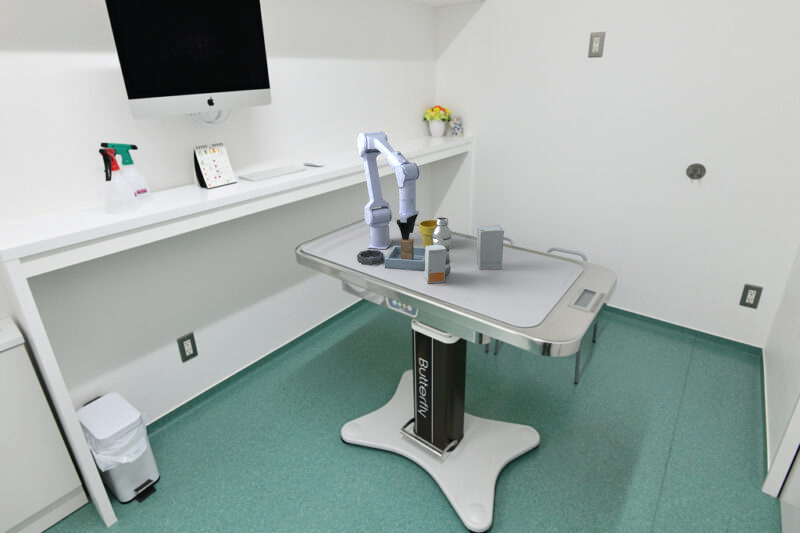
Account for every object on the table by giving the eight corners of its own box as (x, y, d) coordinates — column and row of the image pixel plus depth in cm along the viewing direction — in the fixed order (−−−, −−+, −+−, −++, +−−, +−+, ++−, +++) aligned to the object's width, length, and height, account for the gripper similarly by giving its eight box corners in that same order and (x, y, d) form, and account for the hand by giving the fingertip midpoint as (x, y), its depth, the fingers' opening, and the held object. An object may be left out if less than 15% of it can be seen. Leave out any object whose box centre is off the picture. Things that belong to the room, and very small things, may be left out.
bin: (393, 254, 174) (393, 245, 172) (429, 256, 171) (430, 247, 169) (384, 268, 161) (384, 258, 160) (423, 271, 158) (423, 261, 157)
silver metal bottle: (431, 271, 157) (432, 216, 150) (450, 272, 157) (452, 216, 149) (430, 278, 151) (431, 221, 144) (450, 279, 151) (452, 221, 143)
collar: (362, 255, 173) (362, 249, 172) (385, 256, 171) (385, 250, 170) (355, 264, 165) (354, 257, 164) (379, 266, 163) (378, 259, 162)
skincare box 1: (427, 284, 148) (428, 250, 143) (424, 278, 152) (424, 245, 147) (445, 282, 149) (446, 248, 144) (441, 276, 153) (442, 243, 148)
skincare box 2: (498, 263, 164) (501, 224, 158) (502, 270, 158) (505, 229, 152) (475, 264, 163) (477, 224, 158) (478, 270, 158) (480, 230, 152)
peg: (402, 258, 168) (402, 237, 165) (413, 259, 167) (413, 238, 164) (400, 262, 164) (400, 241, 161) (411, 263, 163) (411, 242, 160)
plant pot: (413, 245, 182) (413, 222, 178) (434, 240, 187) (434, 217, 184) (429, 253, 174) (429, 228, 170) (450, 247, 179) (451, 224, 176)
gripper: (414, 204, 149) (414, 243, 155) (422, 194, 162) (422, 230, 168) (394, 203, 151) (394, 242, 156) (403, 193, 164) (403, 229, 169)
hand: (407, 236), depth 162 cm, fingers open, 7 cm apart
